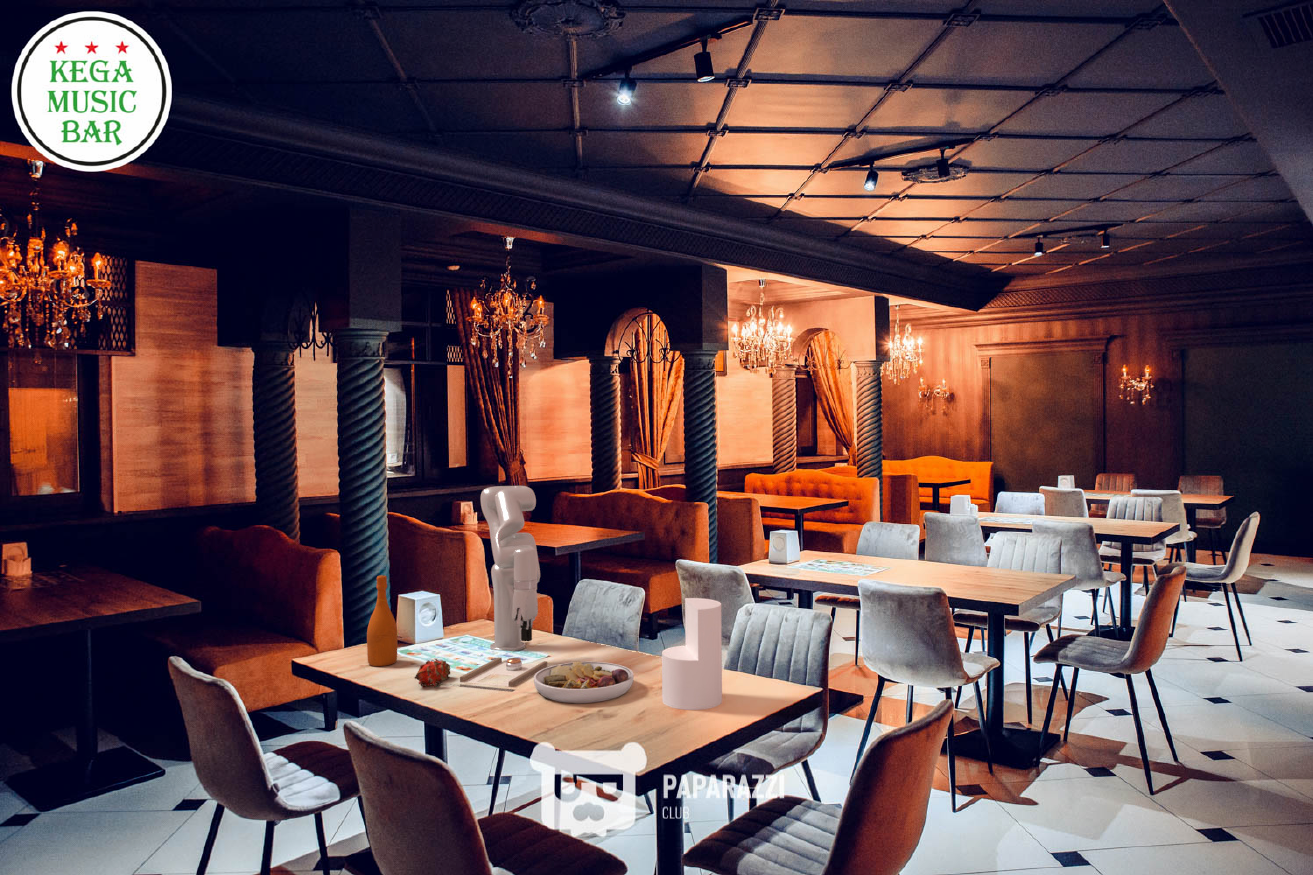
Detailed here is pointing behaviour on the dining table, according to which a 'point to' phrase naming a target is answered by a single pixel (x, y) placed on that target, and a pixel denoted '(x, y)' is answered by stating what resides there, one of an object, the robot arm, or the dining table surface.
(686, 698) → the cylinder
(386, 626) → the wine bottle
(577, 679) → the bowl
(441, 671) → the dragon fruit
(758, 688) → the dining table surface
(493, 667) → the board
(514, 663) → the puck
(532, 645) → the dining table surface
